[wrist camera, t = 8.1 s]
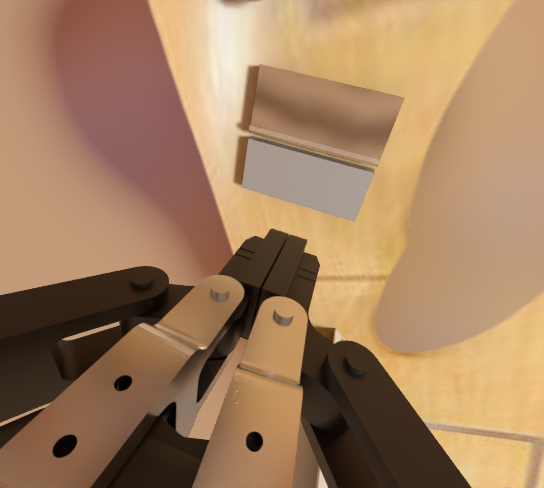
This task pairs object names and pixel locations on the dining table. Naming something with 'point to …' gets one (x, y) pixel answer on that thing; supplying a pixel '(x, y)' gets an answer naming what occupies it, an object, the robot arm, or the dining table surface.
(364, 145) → the glossy brown slab
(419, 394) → the dining table surface
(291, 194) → the slate plank
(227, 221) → the dining table surface
